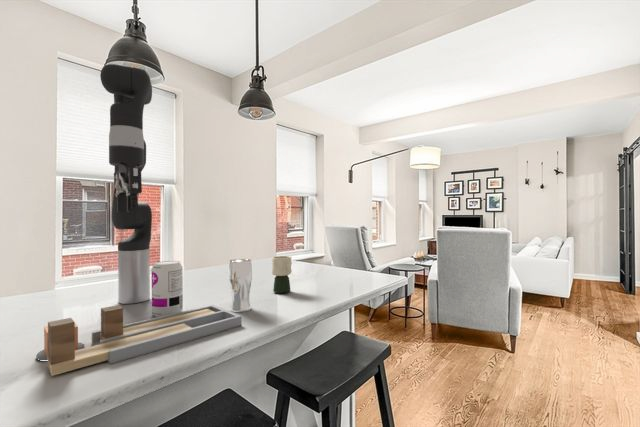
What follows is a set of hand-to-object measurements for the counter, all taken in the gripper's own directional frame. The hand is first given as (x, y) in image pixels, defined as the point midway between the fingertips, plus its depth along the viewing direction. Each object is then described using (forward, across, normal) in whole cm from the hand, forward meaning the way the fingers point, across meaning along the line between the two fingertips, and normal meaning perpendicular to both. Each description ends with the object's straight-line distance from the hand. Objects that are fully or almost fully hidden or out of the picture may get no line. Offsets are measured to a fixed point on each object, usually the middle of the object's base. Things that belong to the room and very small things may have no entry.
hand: (127, 211), depth 81 cm
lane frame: (+30, -10, -6) cm, 32 cm away
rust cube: (+29, -4, +14) cm, 33 cm away
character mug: (+30, +2, -51) cm, 59 cm away
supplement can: (+30, +7, -12) cm, 33 cm away
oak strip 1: (+30, -14, +4) cm, 33 cm away
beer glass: (+30, -5, -29) cm, 42 cm away
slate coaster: (+30, -4, +14) cm, 33 cm away
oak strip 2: (+30, -7, -6) cm, 31 cm away
